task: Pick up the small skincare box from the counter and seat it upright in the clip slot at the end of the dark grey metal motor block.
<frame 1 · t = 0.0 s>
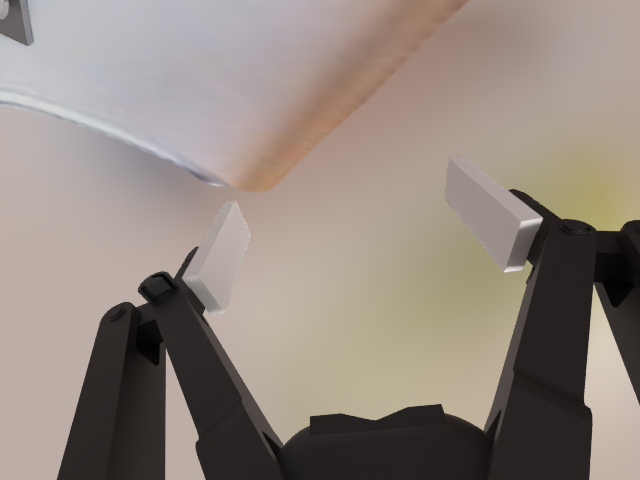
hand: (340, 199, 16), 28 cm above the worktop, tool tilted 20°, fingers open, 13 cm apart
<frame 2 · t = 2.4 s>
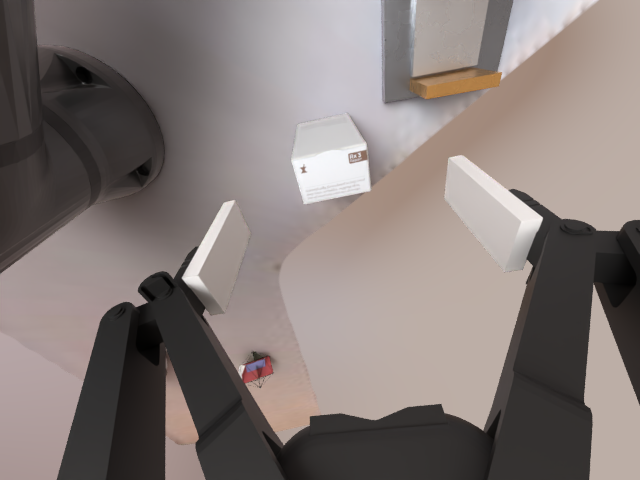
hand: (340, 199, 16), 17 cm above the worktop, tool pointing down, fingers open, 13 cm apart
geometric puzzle: (259, 354, 61), on the worktop
skincare box: (326, 134, 30), on the worktop
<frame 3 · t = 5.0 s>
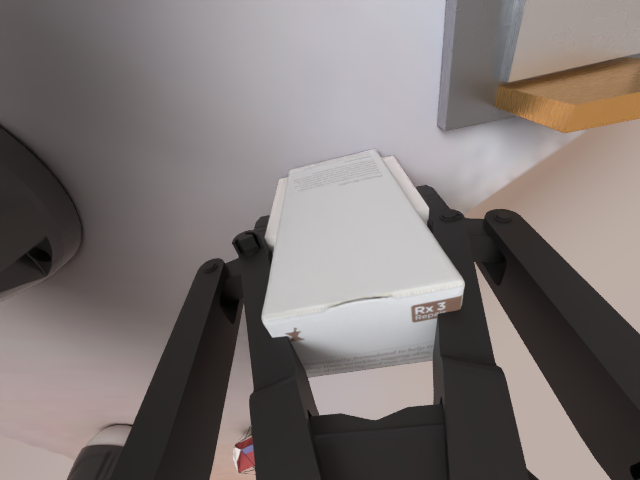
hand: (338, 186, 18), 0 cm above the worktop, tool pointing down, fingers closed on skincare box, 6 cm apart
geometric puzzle: (258, 427, 49), on the worktop
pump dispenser: (126, 427, 48), on the worktop
skincare box: (338, 181, 18), on the worktop, touching gripper
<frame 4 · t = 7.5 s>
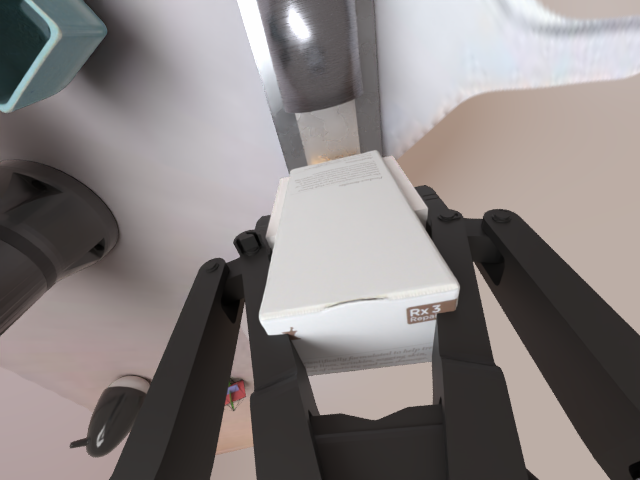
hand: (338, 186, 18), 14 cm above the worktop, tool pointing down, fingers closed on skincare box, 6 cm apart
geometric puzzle: (234, 379, 66), on the worktop
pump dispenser: (135, 379, 65), on the worktop
skincare box: (339, 182, 18), point 13 cm above the worktop, touching gripper
motor: (319, 78, 26), on the worktop
flower pot: (65, 17, 23), on the worktop
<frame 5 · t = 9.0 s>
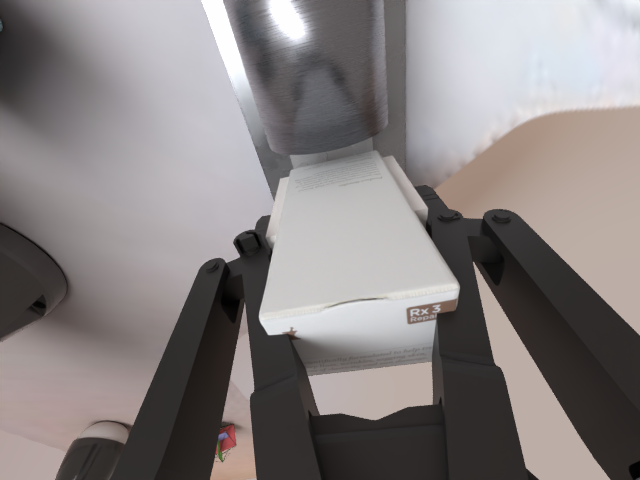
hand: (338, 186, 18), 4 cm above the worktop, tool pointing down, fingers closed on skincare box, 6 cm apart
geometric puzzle: (223, 422, 58), on the worktop
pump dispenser: (111, 424, 57), on the worktop
skincare box: (339, 182, 18), point 4 cm above the worktop, touching gripper
motor: (320, 93, 18), on the worktop
when the fingers open (3 cm above the worktop, at t = 10.0 s): skincare box stays where it is, resting on motor.
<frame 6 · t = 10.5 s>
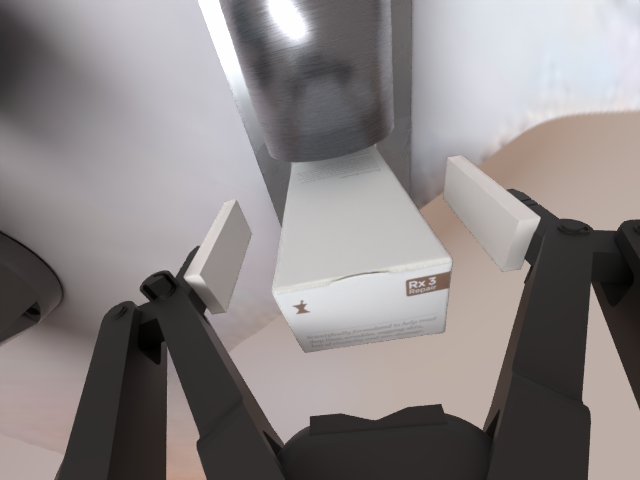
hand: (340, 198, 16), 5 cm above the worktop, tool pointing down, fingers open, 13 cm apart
skincare box: (338, 176, 19), point 2 cm above the worktop, touching motor
motor: (322, 96, 17), on the worktop
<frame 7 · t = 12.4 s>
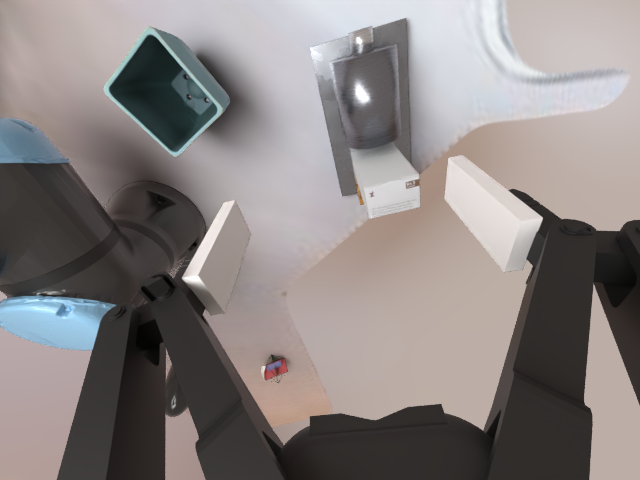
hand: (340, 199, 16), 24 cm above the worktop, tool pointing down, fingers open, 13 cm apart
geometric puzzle: (276, 357, 77), on the worktop
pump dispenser: (194, 357, 77), on the worktop
skincare box: (373, 158, 37), point 2 cm above the worktop, touching motor
motor: (366, 118, 36), on the worktop
flower pot: (197, 87, 34), on the worktop
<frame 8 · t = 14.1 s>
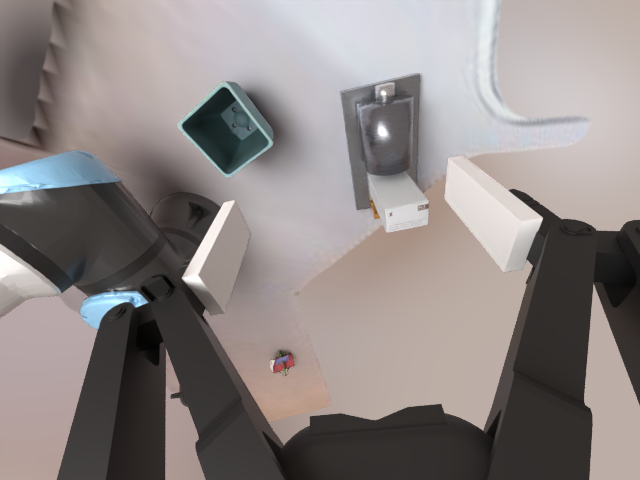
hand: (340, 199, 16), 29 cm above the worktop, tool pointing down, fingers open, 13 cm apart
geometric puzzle: (283, 352, 83), on the worktop
skincare box: (386, 179, 44), point 2 cm above the worktop, touching motor
motor: (381, 147, 43), on the worktop
flower pot: (242, 118, 40), on the worktop
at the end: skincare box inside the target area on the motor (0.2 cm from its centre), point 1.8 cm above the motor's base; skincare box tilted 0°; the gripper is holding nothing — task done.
